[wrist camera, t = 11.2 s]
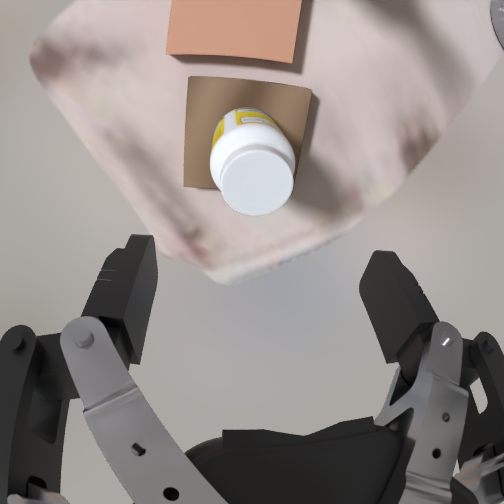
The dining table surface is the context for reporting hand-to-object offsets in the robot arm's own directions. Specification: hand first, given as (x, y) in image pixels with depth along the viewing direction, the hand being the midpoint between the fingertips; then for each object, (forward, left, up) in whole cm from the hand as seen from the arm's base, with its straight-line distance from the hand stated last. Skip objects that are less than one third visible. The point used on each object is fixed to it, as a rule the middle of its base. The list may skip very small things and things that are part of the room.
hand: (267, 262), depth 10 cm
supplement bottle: (0, 0, -16) cm, 16 cm away
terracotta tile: (+2, -12, -18) cm, 21 cm away
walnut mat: (0, 0, -18) cm, 18 cm away
